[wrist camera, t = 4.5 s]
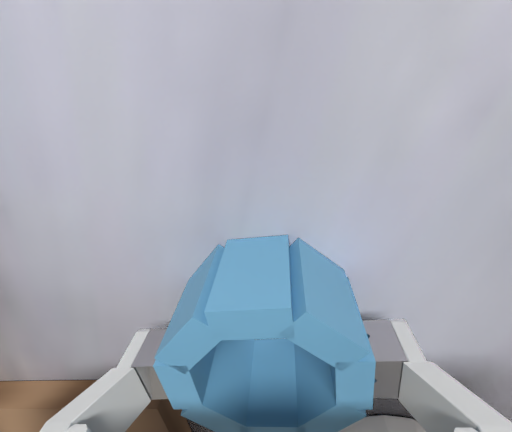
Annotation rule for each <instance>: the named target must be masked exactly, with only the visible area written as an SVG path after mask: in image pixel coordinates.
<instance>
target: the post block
mask: <svg viewBox="0 0 512 432" xmlns="http://www.w3.org/2000/svg"><path fill="white" fill-rule="evenodd" d="M96 381H97V380H64V381H0V432H39V431H40V430H41V428H42V427H43V426H44V424H45V423H46V422H47V421H48V420H49V419H50V418H52V417H53V416H54V415H55V414H57V413H58V412H59V411H60V410H61V409H63V408H64V407H65V406H66V405H68V404H69V403H70V402H71V401H73V400H74V399H75V398H76V397H77V396H79V395H80V394H81V393H82V392H84V391H85V390H86V389H87V388H89V387H90V386H91V385H92V384H93V383H95V382H96ZM181 412H182V409H173V408H172V405H171V403H170V401H169V399H157V400H151V402H150V403H149V404H148V405H147V407H146V408H145V409H144V410H143V411H142V412H141V414H140V415H139V416H138V417H137V418H136V419H135V421H134V422H133V423H132V424H131V425H130V427H129V428H128V429H127V430H126V431H125V432H192V431H191V428H190V426H189V424H188V422H187V420H186V418H185V417H183V416H180V415H181Z"/></svg>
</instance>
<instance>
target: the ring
mask: <svg viewBox="0 0 512 432" xmlns="http://www.w3.org/2000/svg"><path fill="white" fill-rule="evenodd" d="M280 338H286V339H280ZM254 339H261V340H254ZM154 359H156V360H155V363H154V365H153V367H154V370H155V372H156V374H157V376H158V378H159V380H160V382H161V384H162V386H163V389H164V391H165V393H166V395H167V397H168V399H169V401H170V403H171V405H172V408H173V409H182V412H181V415H180V416H183V417H185V418H187V419H189V420H191V421H193V422H195V423H197V424H199V425H202V426H204V427H206V428H208V429H210V430H212V431H214V432H338V431H340V430H342V429H344V428H346V427H348V426H350V425H351V424H353V423H355V422H357V421H359V420H361V419H363V418H365V417H367V415H366V411H365V410H372V409H373V395H374V381H375V367H376V361H375V357H374V354H373V351H372V348H371V345H370V342H369V339H368V336H367V333H366V330H365V327H364V324H363V321H362V318H361V315H360V312H359V309H358V306H357V303H356V300H355V297H354V294H353V291H352V288H351V285H350V282H349V279H348V277H346V275H345V272H344V270H343V269H342V268H340V267H339V266H338V265H336V264H335V263H333V262H332V261H331V260H329V259H328V258H326V257H325V256H324V255H322V254H321V253H319V252H318V251H317V250H315V249H314V248H312V247H311V246H309V245H308V244H307V243H305V242H304V241H302V240H301V239H300V238H298V239H297V240H296V241H295V242H294V243H293V244H292V245H291V246H290V247H289V240H288V235H281V236H269V237H257V238H245V239H233V240H227V242H226V245H225V248H224V247H222V246H221V245H219V244H218V246H217V247H216V248H215V249H214V250H213V252H212V253H211V254H210V255H209V256H208V258H207V259H206V260H205V261H204V262H203V264H202V265H201V266H200V267H199V268H198V270H197V271H196V272H195V273H194V274H193V276H192V277H191V278H190V279H189V281H188V283H187V285H186V287H185V290H184V292H183V294H182V296H181V299H180V301H179V303H178V305H177V308H176V310H175V312H174V314H173V317H172V319H171V321H170V323H169V326H168V328H167V330H166V332H165V335H164V337H163V339H162V341H161V344H160V346H159V348H158V350H157V353H156V355H155V357H154Z"/></svg>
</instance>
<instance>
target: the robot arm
mask: <svg viewBox="0 0 512 432" xmlns="http://www.w3.org/2000/svg"><path fill="white" fill-rule="evenodd" d="M362 321H363V324H364V327H365V330H366V333H367V336H368V339H369V342H370V345H371V348H372V351H373V354H374V357H375V361H376V367H375V381H374V395H373V398H387V399H398V401H399V402H400V403H401V404H402V405H403V406H404V407H405V408H406V409H407V411H408V412H409V413H410V414H411V415H412V416H413V417H414V418H415V420H416V421H417V422H418V423H419V424H420V425H421V426H422V427H423V428H424V430H425V431H426V432H512V422H511V421H509V420H508V419H507V418H505V417H504V416H503V415H501V414H500V413H499V412H498V411H496V410H495V409H494V408H492V407H491V406H490V405H488V404H487V403H486V402H484V401H483V400H482V399H481V398H479V397H478V396H477V395H475V394H474V393H473V392H471V391H470V390H469V389H467V388H466V387H465V386H464V385H462V384H461V383H460V382H458V381H457V380H456V379H454V378H453V377H452V376H450V375H449V374H448V373H446V372H445V371H444V370H443V369H441V368H440V367H439V366H437V365H436V364H435V363H433V362H430V361H427V360H426V358H425V356H424V354H423V352H422V351H421V349H420V347H419V345H418V343H417V341H416V339H415V337H414V335H413V333H412V331H411V329H410V327H409V325H408V323H407V321H406V320H405V319H380V320H362ZM166 330H167V329H140V330H138V331H137V332H136V334H135V335H134V337H133V339H132V341H131V342H130V344H129V346H128V348H127V350H126V351H125V353H124V355H123V357H122V358H121V360H120V362H119V364H118V366H117V367H116V368H112V369H111V370H109V371H108V372H107V373H106V374H105V375H103V376H102V377H101V378H100V379H98V380H97V381H96V382H95V383H93V384H92V385H91V386H90V387H89V388H87V389H86V390H85V391H84V392H82V393H81V394H80V395H79V396H77V397H76V398H75V399H74V400H73V401H71V402H70V403H69V404H68V405H66V406H65V407H64V408H63V409H61V410H60V411H59V412H58V413H57V414H55V415H54V416H53V417H52V418H50V419H49V420H48V421H47V422H46V423H45V424H44V426H43V427H42V428H41V430H40V431H39V432H125V431H126V430H127V429H128V428H129V427H130V425H131V424H132V423H133V422H134V421H135V419H136V418H137V417H138V416H139V415H140V414H141V412H142V411H143V410H144V409H145V408H146V407H147V405H148V404H149V403H150V402H151V400H157V399H168V397H167V395H166V393H165V391H164V389H163V386H162V384H161V382H160V380H159V378H158V376H157V374H156V372H155V370H154V367H153V365H154V363H155V360H156V359H154V357H155V355H156V353H157V350H158V348H159V346H160V344H161V341H162V339H163V337H164V335H165V332H166Z"/></svg>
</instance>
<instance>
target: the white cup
mask: <svg viewBox="0 0 512 432" xmlns="http://www.w3.org/2000/svg"><path fill="white" fill-rule="evenodd" d="M338 432H426V431H425V430H424V428H423V427H422V426H421V425H420V424H419V423H418V422H417V421H416V420H414V419H412V418H405V417H397V416H388V415H378V416H368V417H365V418H363V419H361V420H359V421H357V422H355V423H353V424H351V425H350V426H348V427H346V428H344V429H342V430H340V431H338Z"/></svg>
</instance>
